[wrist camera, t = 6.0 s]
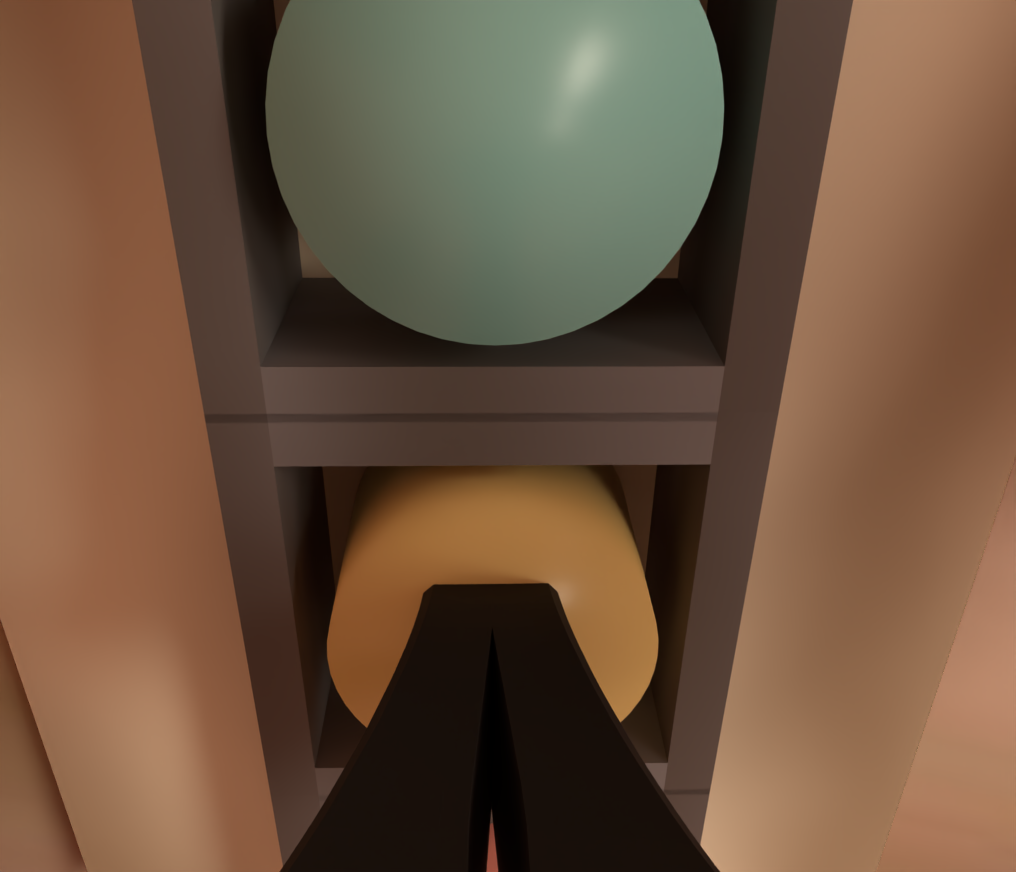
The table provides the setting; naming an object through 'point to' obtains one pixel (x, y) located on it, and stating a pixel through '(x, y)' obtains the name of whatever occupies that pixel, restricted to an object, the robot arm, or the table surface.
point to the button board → (500, 425)
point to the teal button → (494, 153)
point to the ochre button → (491, 566)
